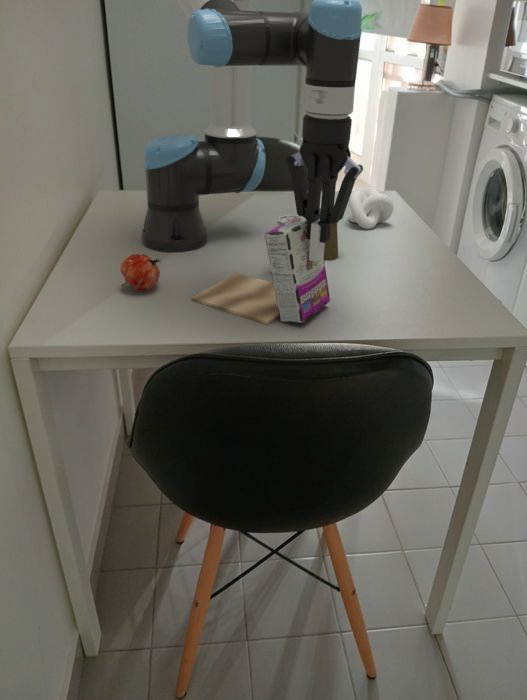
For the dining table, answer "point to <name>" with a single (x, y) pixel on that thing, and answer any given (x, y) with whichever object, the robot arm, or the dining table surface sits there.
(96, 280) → the dining table surface
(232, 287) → the wooden board
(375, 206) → the white knot sculpture
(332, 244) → the pepper shaker
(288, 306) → the candy bar box
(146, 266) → the pomegranate
